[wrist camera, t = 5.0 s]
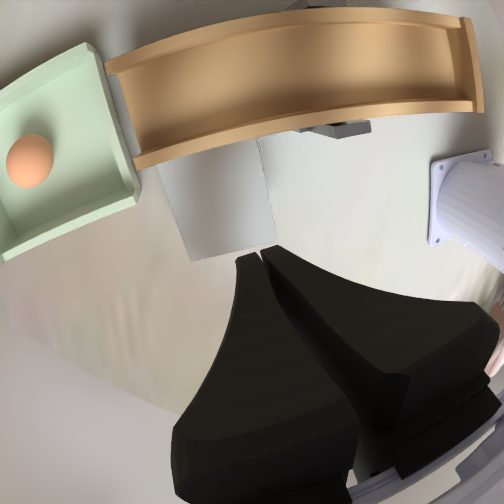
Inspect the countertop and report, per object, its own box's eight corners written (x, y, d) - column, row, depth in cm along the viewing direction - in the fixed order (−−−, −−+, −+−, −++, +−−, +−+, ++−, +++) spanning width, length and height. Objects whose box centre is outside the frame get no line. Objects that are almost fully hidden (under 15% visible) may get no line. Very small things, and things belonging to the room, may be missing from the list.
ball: (-7, 154, 11) (31, 135, 14) (10, 200, 13) (46, 178, 15) (9, 139, 10) (53, 119, 12) (29, 192, 12) (69, 168, 14)
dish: (98, 50, 12) (81, 39, 9) (141, 189, 17) (134, 209, 14) (-28, 126, 11) (-58, 134, 8) (17, 243, 16) (-5, 269, 13)
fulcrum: (310, 16, 14) (352, -4, 10) (333, 121, 18) (379, 130, 13) (135, 50, 13) (120, 30, 9) (168, 164, 17) (165, 186, 12)
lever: (443, 22, 11) (470, 18, 8) (457, 195, 16) (481, 212, 14) (121, 65, 12) (100, 62, 10) (184, 255, 18) (177, 282, 15)
